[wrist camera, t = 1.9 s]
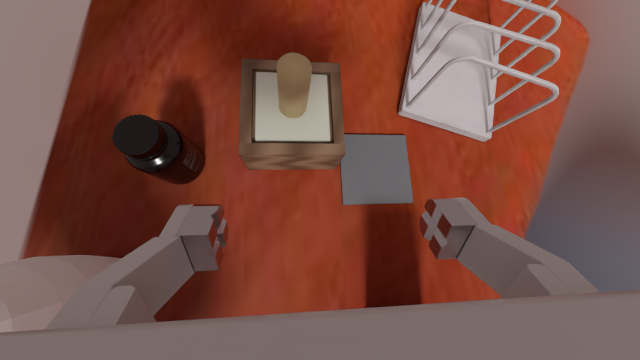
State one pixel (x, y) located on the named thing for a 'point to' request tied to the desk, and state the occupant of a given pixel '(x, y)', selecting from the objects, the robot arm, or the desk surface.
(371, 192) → the mat
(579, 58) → the desk surface
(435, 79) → the file sorter
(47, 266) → the bottle
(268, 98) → the lid
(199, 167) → the supplement bottle
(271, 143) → the box
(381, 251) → the desk surface
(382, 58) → the desk surface
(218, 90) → the desk surface
